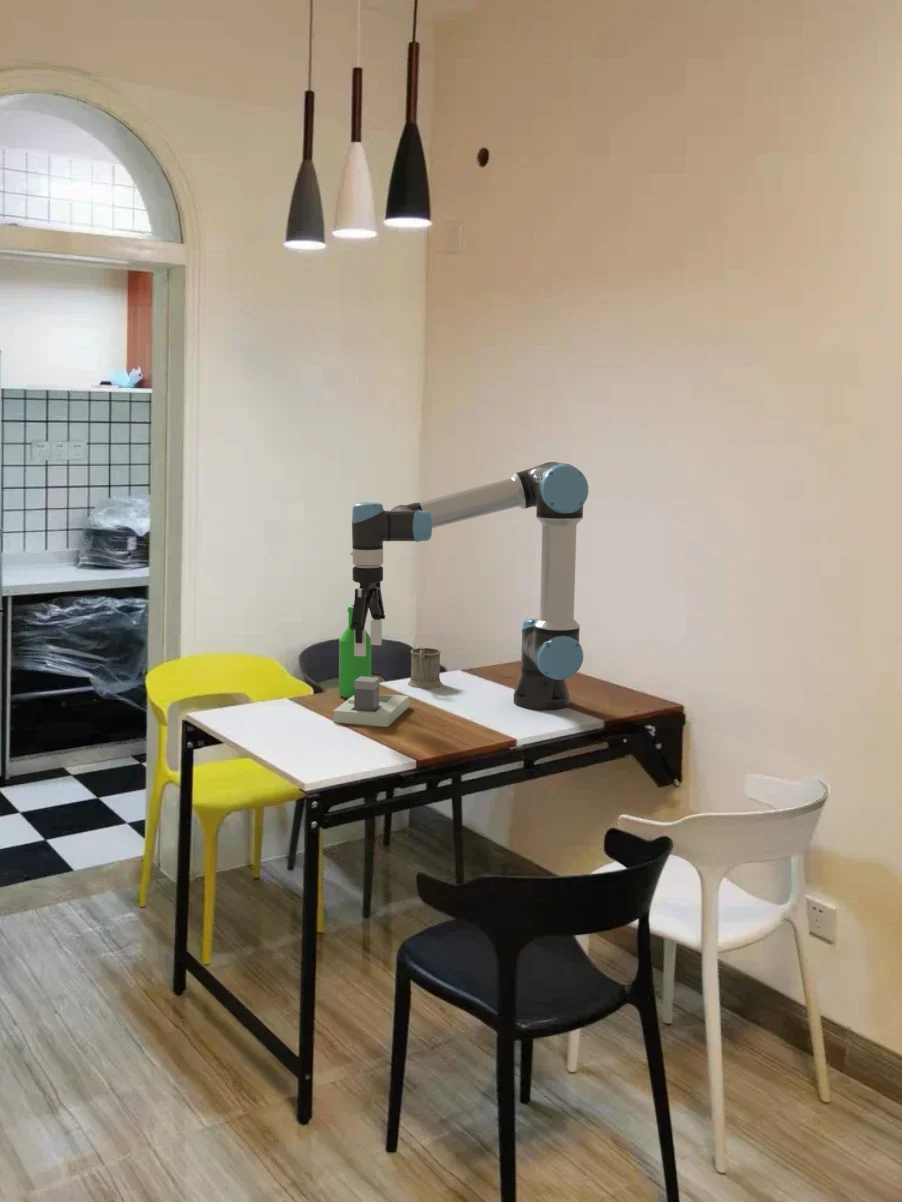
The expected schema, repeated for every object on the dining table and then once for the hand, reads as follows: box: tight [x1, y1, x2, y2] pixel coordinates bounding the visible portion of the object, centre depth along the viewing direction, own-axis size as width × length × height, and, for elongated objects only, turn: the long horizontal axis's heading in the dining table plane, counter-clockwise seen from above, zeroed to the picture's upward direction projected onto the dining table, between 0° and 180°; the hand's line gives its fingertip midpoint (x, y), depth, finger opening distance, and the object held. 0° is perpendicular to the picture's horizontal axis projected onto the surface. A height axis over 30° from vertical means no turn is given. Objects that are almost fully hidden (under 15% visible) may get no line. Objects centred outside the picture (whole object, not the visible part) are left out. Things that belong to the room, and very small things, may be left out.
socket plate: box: [333, 693, 410, 728], centre depth 289 cm, size 14×20×4 cm
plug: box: [354, 676, 380, 712], centre depth 284 cm, size 5×5×10 cm
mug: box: [407, 646, 443, 689], centre depth 320 cm, size 14×10×12 cm
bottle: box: [338, 604, 373, 700], centre depth 306 cm, size 9×9×25 cm
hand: (368, 650), depth 282 cm, fingers open, 13 cm apart
